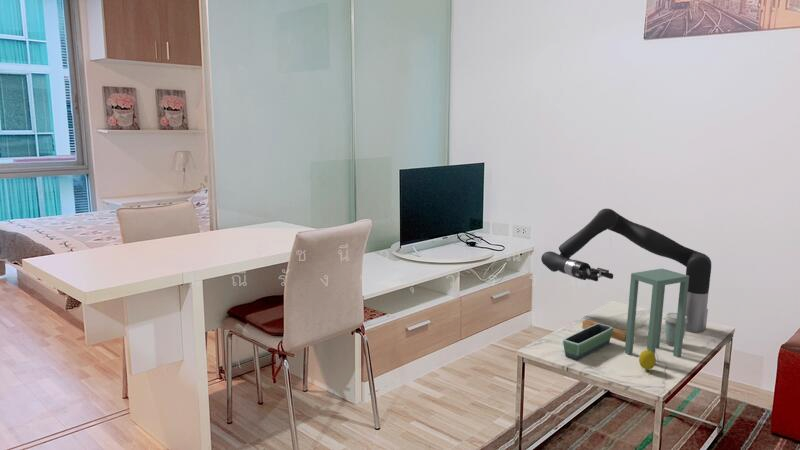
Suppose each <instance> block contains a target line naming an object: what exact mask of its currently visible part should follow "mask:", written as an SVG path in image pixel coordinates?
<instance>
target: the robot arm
mask: <svg viewBox="0 0 800 450" xmlns="http://www.w3.org/2000/svg"><path fill="white" fill-rule="evenodd" d="M607 230H608V231H612V232H614V233H616V234H619V235H621V236H622V237H625V238H626V239H628V240H629V241H630V242H632V243H633V244H635V245H637V246H638V247H640V248H641V249H644V250H645V251H648V252H650V253H652V254H654V255H656V256H659V257H663V258H667V259H670V260H673V261H675V262H677V263H679V264H681V265H683V266H684V267H686V270H685V275H688V276H689V284H688V294H687V304H686V314H685V316H686V317H687V320H688V323H687V325H686V329H685V332H689V333H695V334H696V333H699V334H700V333H704V332H705V331H706V330H707V321H708V313H709V309H708V301H709V292H710V291H709V290H710V283H711V276H712V275H711V273H712V260H711V259H710V257H709V256H708V255H707V254H705V253H703V252H700V251H698V250H694V249H691V248H689V247H686V246H685V245H682V244H680V243H679V242H678V241H676V240H673V239H672V238H669V237H668V236H666V235H664V233H663V234H662V233H660V232H658V231H656V230H654V229H652V228H650V227H647V226H644V225H642V224H639V223H636V222H633V221H631V220H629V219H627V218H625V217H624V216H622V215H620V214H619V213H617V212H616V211H615V210H614V209H612V208H602V209H601V210H599V211H598V213H597V214H596V215H595V216H594V217H593V218H592V219H591V221H589V223H587V224H586V225H585V226H584V227H583V228H581V229H580V230H579V231H578V232H576V233H574V235H572V236H570V237H569V238H568V239H566V240H565V241H564V242H563V243H562V244H560V245H559V246H558V250H559V252H560V254H559V253H556V252H555V251H545V252H544V253H543V254H541V256H540V257H541V258H540V259H541V260H540V261H541V263H542V264H543V265H544V266H545V267H546V268H547V269H548V270H549V271H551V272H554V273H555V272H560V273H562V274H565V275H568V276H570V277H573V278H576V279H579V280H583V281H586V280H588V281H594V282H599V278H603V277H604V278H607V279H610V280H613V279H614V274H613V273H611V272H610V270H609V269H605V268H602V267H597V268H594V267H591V265H590V264H589V263H587V262H584V261H582V260H581V261H580V260H578V259H571V257H573V255H574V256H575V254H576V253H577V252H579V251H580V250H582V249H583V247H585V246H586V245H588V243H589V242H591V241H592V239H594V238H595V237H596V236H597V235H599V234H601V233H603V232H604V231H607Z"/></svg>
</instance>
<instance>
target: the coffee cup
mask: <svg viewBox="0 0 800 450" xmlns="http://www.w3.org/2000/svg"><path fill="white" fill-rule="evenodd" d="M664 320H665V325H664V326H665V343H666V344H667V345H668V346H670V347H674V342H675V332H676V322H677V312H669V313H666V314H665V317H664ZM687 323H688V320H687V317H686V316H685V324H684V334H683V339H684V337H685V333H686V331H685V329H686V325H687Z"/></svg>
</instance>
